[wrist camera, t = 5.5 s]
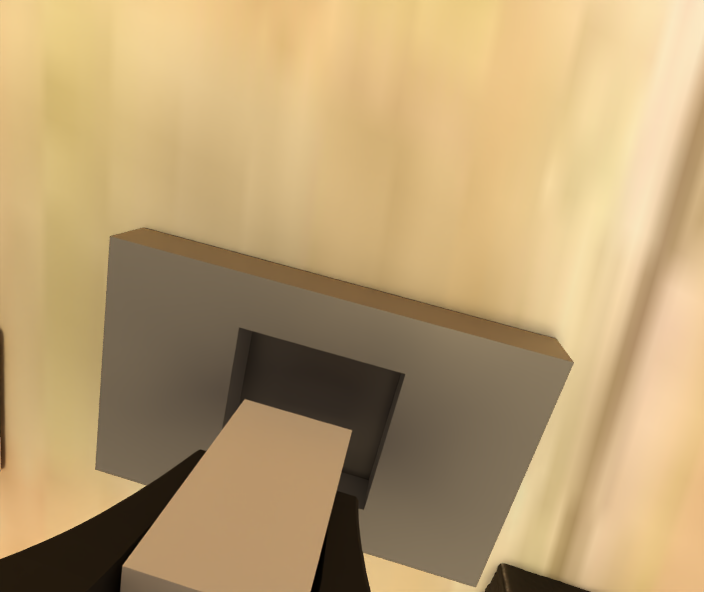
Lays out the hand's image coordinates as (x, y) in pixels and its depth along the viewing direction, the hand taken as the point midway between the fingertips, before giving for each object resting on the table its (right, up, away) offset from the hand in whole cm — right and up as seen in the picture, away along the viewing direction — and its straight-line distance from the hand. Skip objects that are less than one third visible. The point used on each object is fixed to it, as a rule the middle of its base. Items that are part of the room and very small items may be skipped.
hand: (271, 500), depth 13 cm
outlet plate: (+1, +2, +6) cm, 6 cm away
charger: (0, +1, +1) cm, 2 cm away
